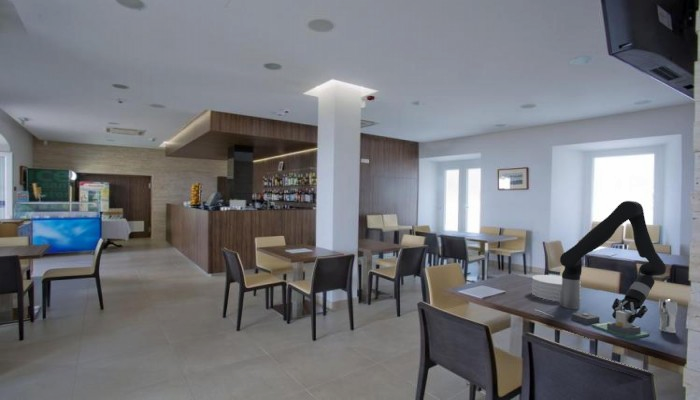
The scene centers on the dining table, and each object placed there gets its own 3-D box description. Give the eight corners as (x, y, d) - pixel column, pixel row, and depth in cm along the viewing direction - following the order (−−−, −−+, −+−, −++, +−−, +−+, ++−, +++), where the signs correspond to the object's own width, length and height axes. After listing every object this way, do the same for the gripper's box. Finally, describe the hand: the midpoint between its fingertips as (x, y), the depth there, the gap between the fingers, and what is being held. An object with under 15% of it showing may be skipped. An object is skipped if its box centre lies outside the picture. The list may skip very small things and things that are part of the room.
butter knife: (537, 308, 211) (533, 309, 210) (580, 325, 185) (576, 325, 184) (537, 309, 211) (533, 310, 210) (580, 326, 185) (575, 326, 184)
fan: (571, 319, 194) (571, 312, 194) (582, 317, 197) (583, 310, 197) (587, 324, 186) (587, 317, 186) (599, 322, 189) (599, 315, 189)
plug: (614, 329, 177) (615, 311, 176) (621, 328, 178) (622, 310, 178) (624, 332, 172) (624, 313, 172) (631, 331, 174) (631, 312, 174)
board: (591, 326, 183) (591, 319, 183) (610, 323, 188) (610, 316, 188) (629, 339, 166) (629, 332, 166) (649, 335, 171) (649, 328, 171)
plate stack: (590, 303, 224) (590, 284, 224) (545, 302, 225) (545, 284, 225) (564, 291, 252) (565, 275, 252) (524, 290, 253) (524, 274, 253)
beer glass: (667, 328, 181) (668, 298, 181) (680, 333, 174) (681, 302, 174) (654, 328, 181) (654, 298, 181) (667, 333, 174) (667, 302, 174)
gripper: (618, 285, 184) (602, 310, 180) (650, 292, 171) (634, 319, 167) (625, 294, 186) (609, 319, 182) (657, 302, 173) (641, 329, 169)
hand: (621, 319), depth 175 cm, fingers open, 6 cm apart
